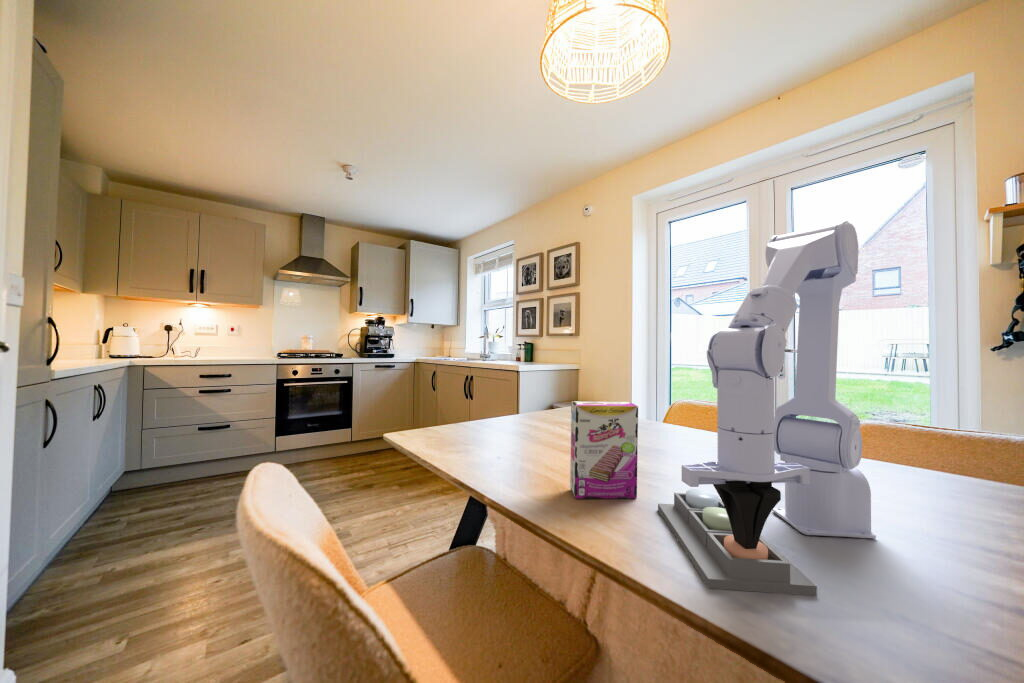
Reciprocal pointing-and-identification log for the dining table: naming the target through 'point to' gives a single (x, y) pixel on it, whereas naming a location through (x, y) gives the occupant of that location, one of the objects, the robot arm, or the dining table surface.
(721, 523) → the sage button
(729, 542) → the terracotta button
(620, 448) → the candy bar box
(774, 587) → the button panel
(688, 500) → the pale blue button
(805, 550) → the dining table surface
